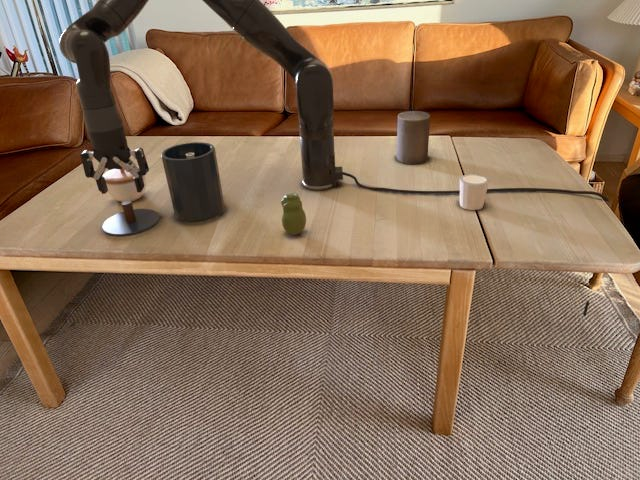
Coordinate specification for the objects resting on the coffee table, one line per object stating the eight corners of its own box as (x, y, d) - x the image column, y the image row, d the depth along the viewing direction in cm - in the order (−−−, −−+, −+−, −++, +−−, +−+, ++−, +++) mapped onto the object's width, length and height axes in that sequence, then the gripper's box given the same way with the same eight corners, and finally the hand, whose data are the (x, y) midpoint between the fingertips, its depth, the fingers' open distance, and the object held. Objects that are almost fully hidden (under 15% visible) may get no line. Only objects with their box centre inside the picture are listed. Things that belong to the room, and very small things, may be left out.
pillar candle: (432, 156, 150) (435, 108, 143) (420, 166, 143) (423, 117, 136) (403, 151, 155) (405, 105, 148) (390, 161, 148) (392, 113, 141)
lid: (166, 211, 125) (161, 189, 122) (151, 237, 113) (145, 213, 110) (115, 214, 125) (109, 192, 122) (94, 239, 114) (87, 216, 111)
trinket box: (101, 204, 131) (91, 173, 126) (127, 189, 139) (119, 158, 135) (133, 209, 127) (124, 176, 123) (157, 193, 136) (150, 161, 131)
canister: (228, 201, 129) (218, 140, 120) (220, 223, 118) (208, 158, 109) (182, 203, 129) (169, 143, 121) (169, 225, 118) (154, 161, 110)
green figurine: (287, 240, 109) (283, 200, 104) (279, 230, 113) (275, 192, 108) (310, 234, 111) (307, 195, 106) (301, 225, 115) (298, 187, 110)
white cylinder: (470, 213, 116) (473, 187, 112) (451, 203, 121) (453, 177, 118) (491, 206, 118) (495, 180, 115) (472, 196, 124) (475, 171, 120)
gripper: (65, 132, 104) (87, 199, 112) (130, 129, 103) (147, 197, 112) (80, 122, 110) (99, 186, 118) (141, 119, 110) (156, 184, 118)
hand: (122, 191), depth 115 cm, fingers open, 8 cm apart
